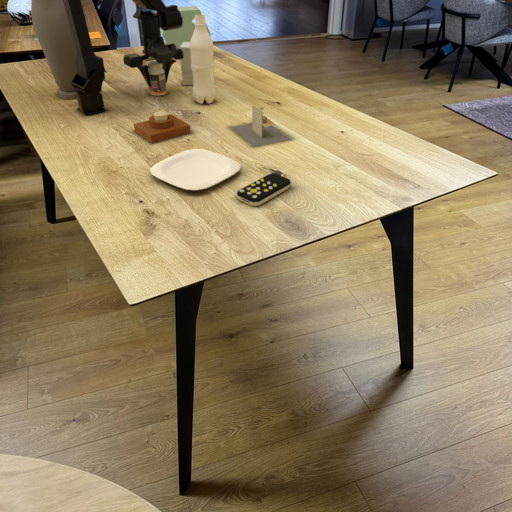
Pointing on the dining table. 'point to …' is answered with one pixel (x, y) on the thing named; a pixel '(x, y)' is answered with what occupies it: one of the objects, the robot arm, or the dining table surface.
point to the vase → (56, 42)
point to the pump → (160, 116)
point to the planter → (183, 27)
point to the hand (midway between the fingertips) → (157, 84)
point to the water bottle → (202, 62)
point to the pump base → (161, 128)
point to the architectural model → (260, 130)
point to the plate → (195, 169)
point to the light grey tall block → (186, 64)
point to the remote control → (263, 189)
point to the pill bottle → (156, 79)
